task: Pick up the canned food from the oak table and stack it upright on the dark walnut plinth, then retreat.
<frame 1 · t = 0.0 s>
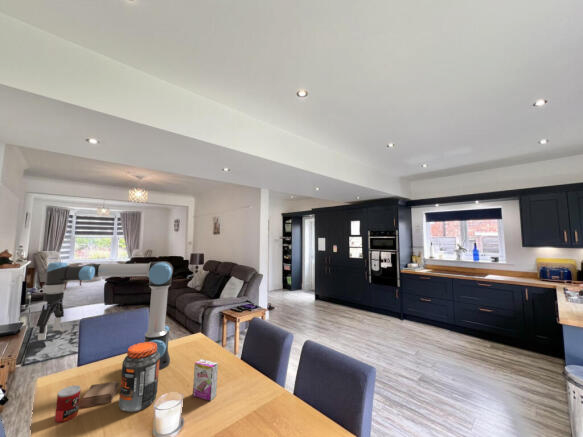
hand: (49, 334, 126), 28 cm above the table, fingers open, 13 cm apart
candy bar box: (204, 396, 124), on the table
supplement tub: (138, 403, 118), on the table
plinth: (100, 397, 121), on the table
canned food: (66, 417, 108), on the table
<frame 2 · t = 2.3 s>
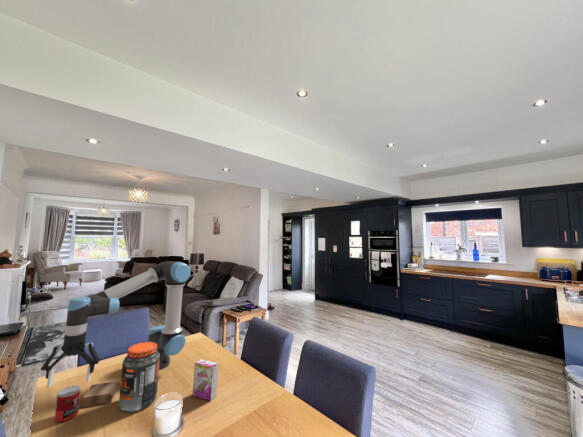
hand: (69, 383, 109), 14 cm above the table, fingers open, 13 cm apart
nothing on the table moved.
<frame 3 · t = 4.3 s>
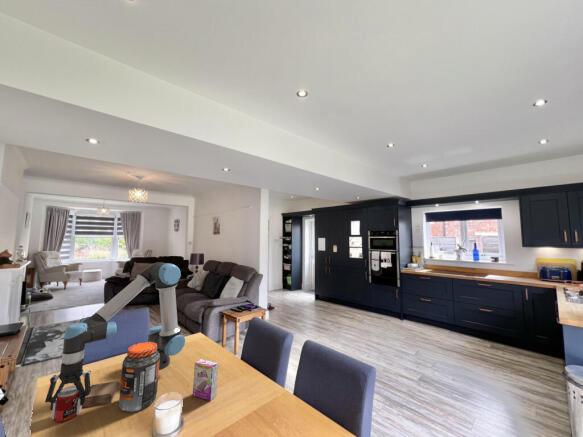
hand: (66, 414, 108), 1 cm above the table, fingers closed on canned food, 8 cm apart
canned food: (66, 417, 108), on the table, touching gripper
everything else where it was.
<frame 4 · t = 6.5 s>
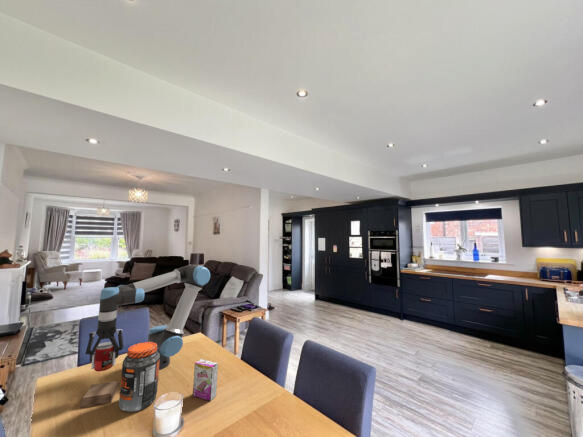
hand: (103, 366, 122), 15 cm above the table, fingers closed on canned food, 8 cm apart
canned food: (103, 368, 122), point 14 cm above the table, touching gripper
everything else where it was.
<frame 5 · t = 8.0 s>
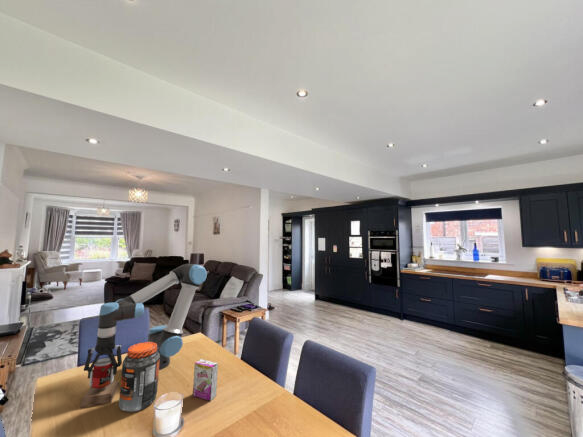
hand: (101, 382, 122), 7 cm above the table, fingers closed on canned food, 8 cm apart
canned food: (101, 384, 122), point 6 cm above the table, touching gripper
everything else where it was.
when the fingers open (6 cm above the table, at t = 9.0 s): canned food drops 1 cm, resting on plinth.
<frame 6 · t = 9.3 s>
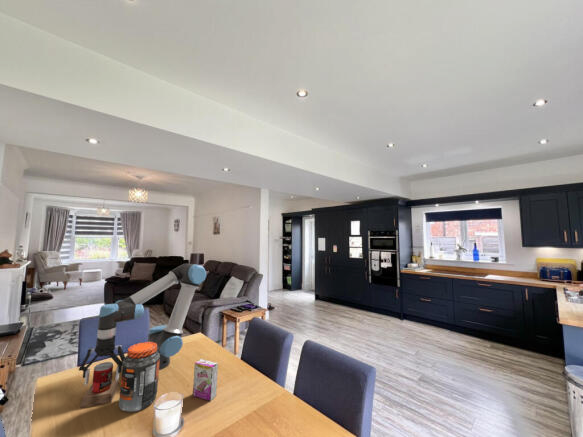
hand: (101, 381, 122), 7 cm above the table, fingers open, 12 cm apart
canned food: (101, 389, 122), point 4 cm above the table, touching plinth
everything else where it was.
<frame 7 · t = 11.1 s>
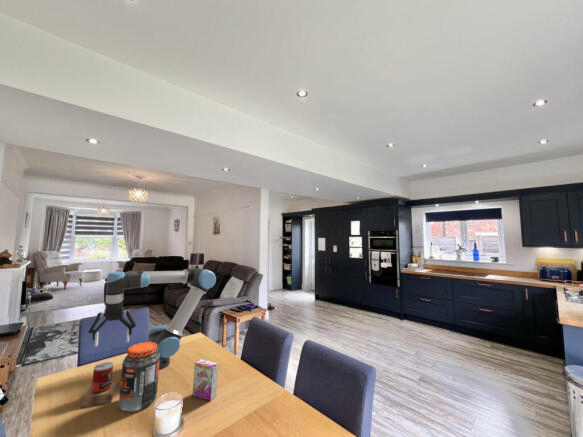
hand: (112, 343, 128), 24 cm above the table, fingers open, 13 cm apart
nothing on the table moved.
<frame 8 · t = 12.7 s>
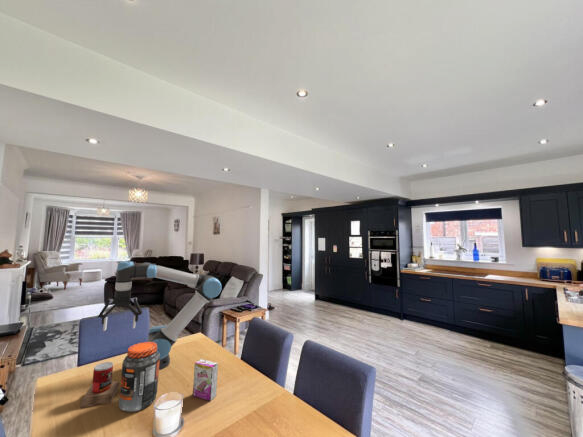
hand: (119, 329, 135), 29 cm above the table, fingers open, 13 cm apart
nothing on the table moved.
at the end: canned food inside the target area on the plinth (0.1 cm from its centre), point 3.8 cm above the plinth's base; canned food tilted 0°; the gripper is holding nothing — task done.
